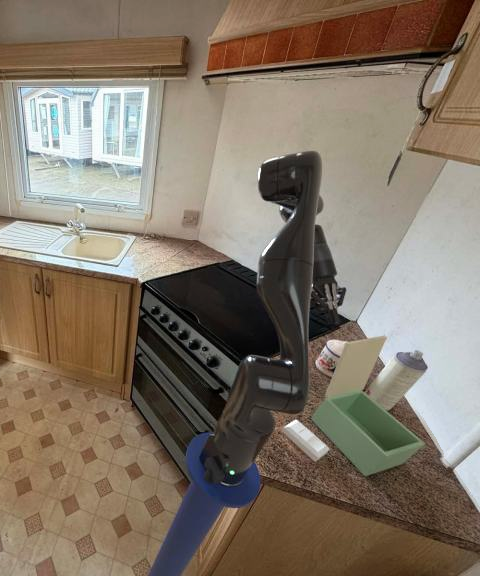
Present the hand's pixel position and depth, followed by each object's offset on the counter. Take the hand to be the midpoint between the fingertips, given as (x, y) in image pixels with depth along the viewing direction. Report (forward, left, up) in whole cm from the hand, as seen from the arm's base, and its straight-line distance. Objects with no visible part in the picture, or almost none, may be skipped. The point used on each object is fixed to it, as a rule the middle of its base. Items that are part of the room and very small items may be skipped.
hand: (334, 323), depth 83 cm
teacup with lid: (+16, +1, -24) cm, 29 cm away
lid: (0, -10, -6) cm, 12 cm away
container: (0, -19, -24) cm, 30 cm away
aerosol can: (+19, -11, -24) cm, 33 cm away
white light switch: (-14, -16, -24) cm, 32 cm away
